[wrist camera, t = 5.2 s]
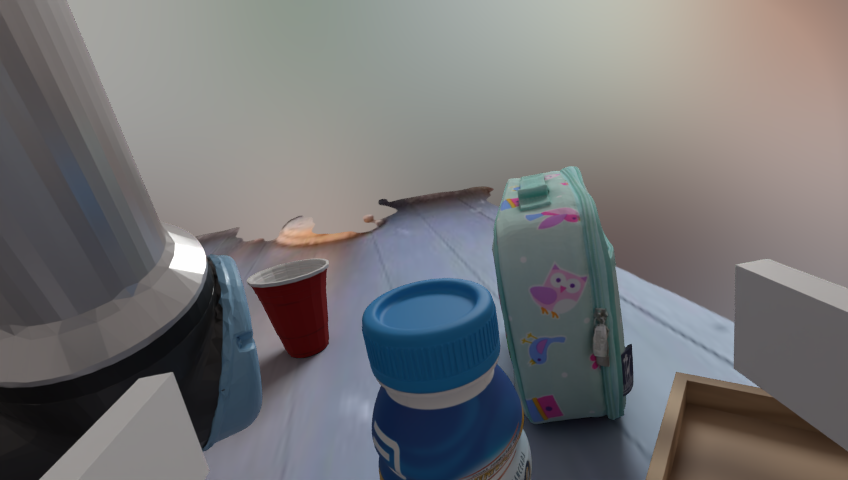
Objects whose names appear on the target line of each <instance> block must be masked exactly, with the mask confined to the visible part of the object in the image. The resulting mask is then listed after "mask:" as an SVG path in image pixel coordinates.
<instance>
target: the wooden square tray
mask: <svg viewBox="0 0 848 480" xmlns="http://www.w3.org/2000/svg"><path fill="white" fill-rule="evenodd" d="M646 480H848V451H847V450H845V449H844V448H842V447H841V446H840V445H838V444H837V443H836V442H834V441H833V440H831V439H830V438H829V437H827V436H826V435H825V434H823V433H822V432H820V431H819V430H818V429H816V428H815V427H814V426H812V425H811V424H809V423H808V422H807V421H805V420H804V419H803V418H801V417H800V416H798V415H797V414H796V413H794V412H793V411H792V410H790V409H789V408H788V407H786V406H785V405H783V404H782V403H781V402H779V401H778V400H777V399H775V398H774V397H772V396H771V395H770V394H768V393H767V392H766V391H764V390H763V389H761V388H757V387H752V386H747V385H742V384H737V383H731V382H726V381H721V380H716V379H710V378H705V377H700V376H695V375H690V374H684V373H679V372H676V374H675V378H674V381H673V385H672V388H671V392H670V395H669V399H668V402H667V406H666V409H665V413H664V417H663V420H662V424H661V427H660V431H659V434H658V438H657V441H656V445H655V448H654V452H653V455H652V459H651V462H650V466H649V469H648V473H647V476H646Z"/></svg>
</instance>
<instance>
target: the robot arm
mask: <svg viewBox="0 0 848 480" xmlns="http://www.w3.org/2000/svg"><path fill="white" fill-rule="evenodd" d="M252 336H253V331H252V326H251V317H250V313H249V308H248V304H247V299H246V295H245V291H244V287H243V284H242V280H241V277H240V274H239V271H238V268H237V265H236V263H235V261H234V260H233V259H232V258H231V257H229V256H226V255H220V256H217V255H212V254H210V255H208V256H206V254H205V251H204V249H203V247H202V246H201V244H200V243H199V241H198V240H197V239H196V238H195V237H194V236H193V235H192V234H190V233H189V232H188V231H186V230H184V229H182V228H180V227H178V226H176V225H173V224H169V223H166V222H161V221H160V220H159V218H158V216H157V213H156V211H155V208H154V206H153V204H152V201H151V199H150V196H149V194H148V192H147V189H146V187H145V185H144V182H143V180H142V178H141V175H140V173H139V170H138V168H137V166H136V163H135V161H134V159H133V156H132V154H131V152H130V149H129V147H128V145H127V142H126V140H125V137H124V135H123V133H122V130H121V128H120V125H119V123H118V121H117V118H116V116H115V114H114V111H113V109H112V107H111V104H110V102H109V99H108V97H107V95H106V92H105V90H104V88H103V85H102V83H101V81H100V78H99V76H98V74H97V71H96V69H95V66H94V64H93V62H92V59H91V57H90V55H89V52H88V50H87V47H86V45H85V43H84V40H83V38H82V36H81V33H80V31H79V28H78V26H77V24H76V21H75V19H74V17H73V14H72V12H71V10H70V7H69V5H68V3H67V0H0V480H205V478H206V476H207V475H208V473H209V471H210V470H209V467H208V465H207V462H206V459H205V457H204V454H203V451H206V450H208V449H209V448H210V447H212V446H213V444H214V443H216V442H218V441H220V440H223V439H225V438H227V437H229V436H231V435H233V434H235V433H237V432H239V431H242V430H243V429H245V428H247V427H248V426H250V425H251V424H252V423H253V422H254V420H255V419H256V418H257V416H258V414H259V412H260V409H261V405H262V384H261V375H260V367H259V361H258V355H257V350H256V345H255V342H254V339H253V338H252ZM734 369H735V370H737V371H738V372H739V373H741V374H742V375H744V376H745V377H746V378H748V379H749V380H750V381H752V382H753V383H755V384H756V385H757V386H759V387H760V388H761V389H763V390H764V391H766V392H767V393H768V394H770V395H771V396H772V397H774V398H775V399H777V400H778V401H779V402H781V403H782V404H783V405H785V406H786V407H788V408H789V409H790V410H792V411H793V412H794V413H796V414H797V415H798V416H800V417H801V418H803V419H804V420H805V421H807V422H808V423H809V424H811V425H812V426H814V427H815V428H816V429H818V430H819V431H820V432H822V433H823V434H825V435H826V436H827V437H829V438H830V439H831V440H833V441H834V442H836V443H837V444H838V445H840V446H841V447H842V448H844V449H845V450H847V451H848V288H846V287H843V286H840V285H838V284H835V283H832V282H829V281H827V280H824V279H821V278H819V277H816V276H813V275H811V274H808V273H805V272H802V271H800V270H797V269H794V268H791V267H789V266H786V265H783V264H781V263H778V262H775V261H773V260H770V259H764V260H758V261H753V262H748V263H742V264H737V265H736V268H735V328H734Z"/></svg>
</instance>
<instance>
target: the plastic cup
mask: <svg viewBox="0 0 848 480" xmlns="http://www.w3.org/2000/svg"><path fill="white" fill-rule="evenodd" d="M327 268H328V260H325V259H307V260H299V261H294V262H290V263H285V264H281V265H278V266H274V267H271V268H268V269H265V270H263V271H260V272H258V273H256V274H254V275H252V276H251V277H249V278H248V280H247V281H246V282H247V283H248V285H250V286H251V287H252V288H253V289H254V291H255V293H256V294H257V296H258V298H259V300H260V301H261V303H262V305H263V307H264V309H265V311H266V313H267V315H268V317H269V319H270V321H271V323H272V325H273V327H274V329H275V331H276V333H277V335H278V336H279V337H280V339H281V341H282V343H283V345H284V347H285V349H286V351H287V352H288V354H289V355H290V356H291V357H295V358H304V357H308V356H312V355H314V354H317V353H319V352H321V351H322V350H323V349H325V348H326V346H327V345H328V344H329V342H328V340H329V332H328V311H327V297H326V273H327Z"/></svg>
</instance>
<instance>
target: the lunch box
mask: <svg viewBox="0 0 848 480" xmlns="http://www.w3.org/2000/svg"><path fill="white" fill-rule="evenodd" d="M492 250H493V256H494V263H495V269H496V276H497V284H498V293H499V299H500V304H501V309H502V313H503V318H504V325H505V332H506V338H507V344H508V349H509V353H510V358H511V361H512V364H513V368H514V381H515V389H516V391H517V394H518V396H519V398H520V401H521V404H522V407H523V412H524V414H525V416H526V417H528V418H529V420H530V422H531V423H534V424H541V423H546V422H551V421H561V420H568V419H576V418H585V417H600V416H604V415H608V418H609V419H612V420H615V419H616V418H619V417H620V416H623V415H624V409H625V405H626V395H627V394H628V393H629V392H630V391H631V389H632V387H633V357H632V344H630V345H628V346H627V347H626V348H625V346H624V334H623V325H622V316H621V308H620V299H619V291H618V283H617V276H616V270H615V266H616V263H615V256H614V249H613V246H612V245H611V243H610V242H609V241H608V239H607V238H606V236H605V234H604V232H603V230H602V227H601V223H600V220H599V216H598V212H597V208H596V205H595V202H594V200H593V198H592V197H591V195H590V194H588V191H587V189H586V187H585V185H584V183H583V179H582V175H581V172H580V170H579V169H578V168H577V167H572V166H569V167H567V168H563V169H562V170H561V171H560V172H559V171H551V172H548V173H541V174H537V175H531V176H525V177H521V178H520V179H519V178H515V179H514V178H512V179H509V180H508V183H507V184H506V187H505V190H504V193H503V197H502V201H501V204H500V206H499V209H498V213H497V216H496V220H495V224H494V240H493V247H492Z"/></svg>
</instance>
